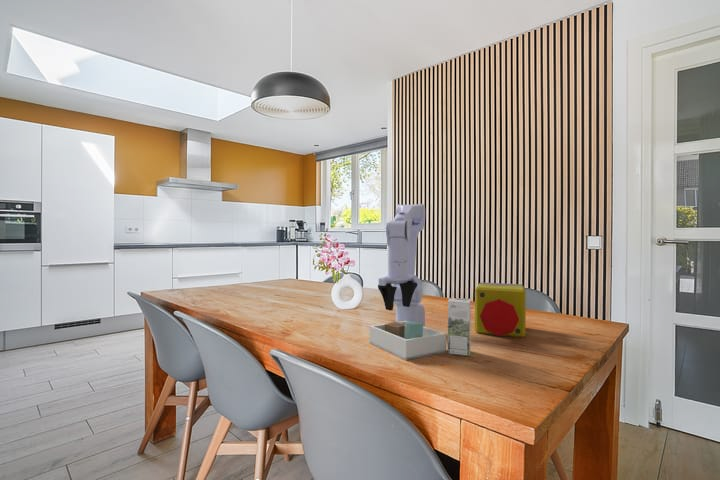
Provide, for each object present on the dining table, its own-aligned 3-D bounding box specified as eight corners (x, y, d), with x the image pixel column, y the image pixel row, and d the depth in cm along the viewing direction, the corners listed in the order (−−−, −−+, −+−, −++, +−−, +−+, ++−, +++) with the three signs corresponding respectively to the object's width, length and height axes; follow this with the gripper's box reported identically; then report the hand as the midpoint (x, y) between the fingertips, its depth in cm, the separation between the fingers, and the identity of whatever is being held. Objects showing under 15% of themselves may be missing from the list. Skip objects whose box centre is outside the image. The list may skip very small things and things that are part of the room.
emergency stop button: (472, 340, 111) (472, 291, 110) (478, 323, 133) (478, 282, 133) (526, 346, 105) (527, 294, 105) (523, 327, 127) (523, 284, 127)
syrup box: (470, 350, 101) (471, 298, 101) (469, 357, 95) (470, 301, 95) (449, 348, 103) (449, 296, 103) (447, 355, 97) (447, 300, 97)
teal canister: (415, 345, 103) (415, 320, 104) (426, 350, 99) (427, 324, 99) (400, 347, 101) (401, 321, 101) (411, 352, 97) (412, 325, 97)
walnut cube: (396, 338, 111) (396, 321, 111) (409, 341, 107) (409, 324, 107) (384, 341, 108) (384, 324, 108) (397, 344, 104) (397, 327, 104)
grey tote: (406, 336, 115) (406, 320, 115) (446, 352, 100) (446, 333, 99) (369, 342, 108) (369, 325, 108) (405, 360, 93) (405, 340, 93)
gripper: (403, 260, 115) (403, 303, 115) (370, 262, 105) (370, 309, 105) (421, 261, 110) (421, 306, 110) (389, 263, 100) (389, 313, 100)
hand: (397, 308), depth 107 cm, fingers open, 7 cm apart
